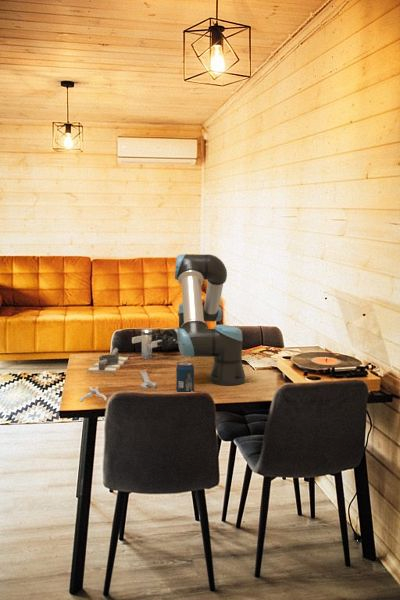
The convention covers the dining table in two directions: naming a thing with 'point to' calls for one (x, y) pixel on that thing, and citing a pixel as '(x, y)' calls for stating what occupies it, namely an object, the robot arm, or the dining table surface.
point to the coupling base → (108, 363)
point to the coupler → (146, 343)
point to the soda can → (185, 377)
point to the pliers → (93, 393)
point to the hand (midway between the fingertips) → (141, 342)
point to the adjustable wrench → (146, 381)
